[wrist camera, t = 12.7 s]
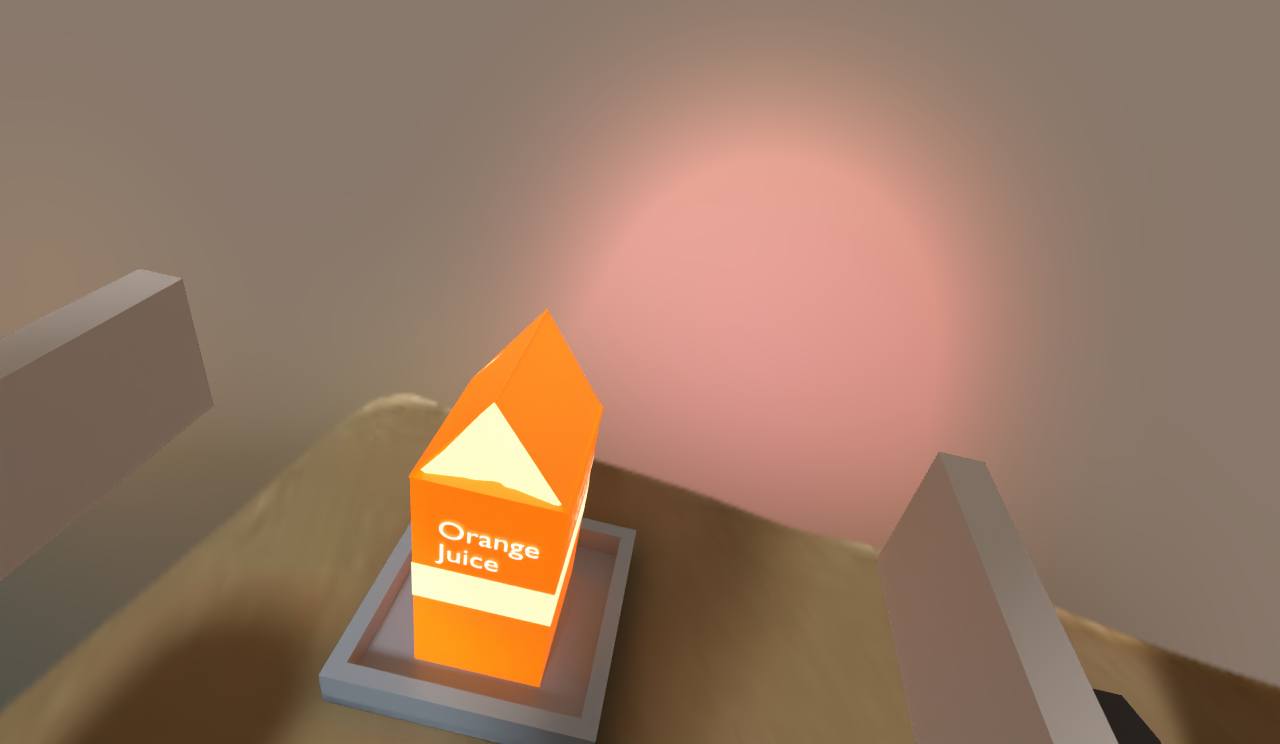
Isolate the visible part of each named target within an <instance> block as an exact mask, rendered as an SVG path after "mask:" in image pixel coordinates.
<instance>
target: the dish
mask: <svg viewBox="0 0 1280 744" xmlns="http://www.w3.org/2000/svg"><path fill="white" fill-rule="evenodd" d="M635 535H636V530H633V529H629V528H625V527H620V526H616V525H612V524H608V523H603V522H599V521H595V520H591V519H586V518H582V520H581V525H580V531H579V536H578V541H577V547H576V552H575V558H574V563H573V568H572V572H571V576H570V579H569V583H568V587H567V590H566V594H565V597H564V601H563V604H562V608H561V612H560V615H559V619H558V622H557V626H556V629H555V633H554V637H553V640H552V644H551V647H550V651H549V655H548V658H547V662H546V665H545V669H544V672H543V676H542V680H541V683H540V687H536V686H531V685H527V684H523V683H519V682H514V681H510V680H506V679H502V678H497V677H493V676H489V675H484V674H480V673H476V672H472V671H467V670H463V669H459V668H455V667H450V666H446V665H442V664H438V663H433V662H429V661H425V660H421V659H416V658H415V649H414V610H413V594H412V572H411V562H412V531H411V522H410V524H409V526H408V527H407V529H406V531H405V532H404V534H403V536H402V537H401V539H400V541H399V542H398V544H397V546H396V547H395V549H394V551H393V552H392V554H391V556H390V557H389V559H388V561H387V562H386V564H385V566H384V567H383V569H382V571H381V572H380V574H379V576H378V577H377V579H376V581H375V582H374V584H373V586H372V587H371V589H370V590H369V592H368V594H367V595H366V597H365V599H364V600H363V602H362V604H361V605H360V607H359V609H358V610H357V612H356V614H355V615H354V617H353V619H352V620H351V622H350V624H349V625H348V627H347V629H346V630H345V632H344V634H343V635H342V637H341V639H340V640H339V642H338V644H337V645H336V647H335V649H334V650H333V652H332V654H331V655H330V657H329V659H328V660H327V662H326V664H325V665H324V667H323V668H322V670H321V672H320V673H319V681H320V687H321V693H322V698H323V701H327V702H331V703H335V704H339V705H343V706H347V707H352V708H356V709H360V710H364V711H368V712H372V713H376V714H380V715H385V716H389V717H393V718H397V719H401V720H405V721H409V722H413V723H418V724H422V725H426V726H430V727H434V728H438V729H442V730H446V731H451V732H455V733H459V734H463V735H467V736H471V737H475V738H479V739H484V740H488V741H492V742H496V743H500V744H595V742H596V737H597V732H598V727H599V722H600V716H601V711H602V706H603V701H604V696H605V690H606V685H607V680H608V675H609V670H610V665H611V659H612V654H613V649H614V644H615V639H616V633H617V628H618V623H619V618H620V613H621V607H622V602H623V597H624V592H625V587H626V581H627V576H628V571H629V566H630V561H631V556H632V550H633V545H634V540H635Z"/></svg>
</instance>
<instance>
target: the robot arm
mask: <svg viewBox="0 0 1280 744" xmlns="http://www.w3.org/2000/svg"><path fill="white" fill-rule="evenodd" d="M211 407H213V401H212V397H211V393H210V389H209V385H208V381H207V377H206V373H205V369H204V364H203V360H202V356H201V352H200V348H199V344H198V340H197V336H196V332H195V328H194V324H193V320H192V316H191V312H190V308H189V304H188V300H187V295H186V292H185V287H184V283H183V279H182V278H177V277H173V276H169V275H164V274H160V273H155V272H151V271H147V270H142V269H138V270H136V271H134V272H132V273H130V274H128V275H126V276H125V277H122V278H120V279H118V280H116V281H114V282H112V283H110V284H108V285H106V286H104V287H102V288H100V289H98V290H96V291H94V292H92V293H90V294H88V295H86V296H84V297H82V298H80V299H78V300H76V301H74V302H72V303H70V304H68V305H66V306H64V307H62V308H60V309H58V310H56V311H54V312H52V313H50V314H48V315H46V316H44V317H42V318H40V319H38V320H36V321H34V322H32V323H30V324H28V325H26V326H24V327H22V328H20V329H18V330H16V331H14V332H12V333H10V334H8V335H6V336H4V337H2V338H0V581H1V580H2V579H4V578H5V577H6V576H7V575H8V574H10V573H11V572H12V571H13V570H15V569H16V568H17V567H18V566H19V565H21V564H22V563H23V562H24V561H25V560H27V559H28V558H29V557H30V556H32V555H33V554H34V553H35V552H36V551H38V550H39V549H40V548H41V547H43V546H44V545H45V544H46V543H47V542H48V541H50V540H51V539H52V538H53V537H55V536H56V535H57V534H58V533H59V532H61V531H62V530H63V529H64V528H66V527H67V526H68V525H69V524H70V523H72V522H73V521H74V520H75V519H77V518H78V517H79V516H80V515H81V514H83V513H84V512H85V511H86V510H87V509H89V508H90V507H91V506H92V505H94V504H95V503H96V502H97V501H98V500H100V499H101V498H102V497H103V496H104V495H106V494H107V493H108V492H109V491H110V490H112V489H113V488H114V487H115V486H117V485H118V484H119V483H120V482H122V481H123V480H124V479H125V478H126V477H128V476H129V475H130V474H131V473H132V472H134V471H135V470H136V469H137V468H139V467H140V466H141V465H142V464H143V463H145V462H146V461H147V460H148V459H149V458H151V457H152V456H153V455H154V454H156V453H157V452H158V451H159V450H160V449H162V447H164V446H165V445H166V444H168V443H169V442H170V441H171V440H172V439H174V438H175V437H176V436H177V435H179V434H180V433H181V432H182V431H183V430H185V429H186V428H187V427H188V426H190V425H191V424H192V423H193V422H194V421H196V420H197V419H198V418H199V417H200V416H202V415H203V414H204V413H205V412H207V411H208V410H209V409H210V408H211ZM876 561H877V566H878V571H879V575H880V580H881V585H882V589H883V594H884V598H885V603H886V608H887V612H888V617H889V622H890V626H891V631H892V636H893V640H894V645H895V650H896V654H897V659H898V663H899V668H900V673H901V677H902V682H903V687H904V691H905V696H906V701H907V705H908V710H909V714H910V719H911V724H912V728H913V733H914V738H915V742H916V744H1161V742H1160V740H1159V739H1158V738H1157V737H1156V736H1155V734H1154V733H1153V732H1152V731H1151V730H1150V728H1149V727H1148V726H1147V725H1146V724H1145V722H1144V721H1143V720H1142V719H1141V718H1140V717H1139V715H1138V714H1137V713H1136V712H1135V711H1134V709H1133V708H1132V707H1131V706H1130V705H1129V704H1128V702H1127V701H1126V700H1125V699H1124V698H1123V696H1122V695H1118V694H1113V693H1109V692H1105V691H1101V690H1096V689H1092V687H1091V685H1090V683H1089V681H1088V679H1087V677H1086V675H1085V672H1084V670H1083V668H1082V666H1081V664H1080V662H1079V660H1078V658H1077V656H1076V654H1075V651H1074V649H1073V647H1072V645H1071V643H1070V641H1069V639H1068V637H1067V635H1066V633H1065V630H1064V628H1063V626H1062V624H1061V622H1060V620H1059V618H1058V616H1057V614H1056V612H1055V609H1054V607H1053V605H1052V603H1051V601H1050V599H1049V597H1048V595H1047V593H1046V591H1045V588H1044V587H1043V584H1042V582H1041V580H1040V578H1039V576H1038V574H1037V572H1036V570H1035V568H1034V565H1033V563H1032V561H1031V559H1030V557H1029V555H1028V553H1027V551H1026V549H1025V546H1024V544H1023V542H1022V540H1021V538H1020V536H1019V534H1018V532H1017V530H1016V528H1015V526H1014V523H1013V521H1012V519H1011V517H1010V515H1009V513H1008V511H1007V509H1006V507H1005V505H1004V502H1003V500H1002V498H1001V496H1000V494H999V492H998V490H997V488H996V486H995V483H994V481H993V479H992V477H991V475H990V473H989V471H988V469H987V467H986V465H985V463H984V462H981V461H977V460H972V459H968V458H963V457H959V456H955V455H950V454H946V453H941V452H939V453H938V454H937V456H936V458H935V460H934V462H933V463H932V465H931V467H930V468H929V470H928V472H927V473H926V475H925V477H924V479H923V481H922V482H921V484H920V486H919V487H918V489H917V491H916V493H915V494H914V496H913V498H912V499H911V502H910V503H909V505H908V506H907V508H906V510H905V512H904V513H903V515H902V517H901V519H900V520H899V522H898V524H897V526H896V527H895V529H894V531H893V532H892V534H891V536H890V538H889V539H888V541H887V543H886V545H885V546H884V548H883V550H882V551H881V553H880V555H879V557H878V558H877V560H876Z"/></svg>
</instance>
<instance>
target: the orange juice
mask: <svg viewBox="0 0 1280 744" xmlns="http://www.w3.org/2000/svg"><path fill="white" fill-rule="evenodd" d="M602 407H603V405H602V404H600V402H599V401H598V399H597V397H596V395H595V394H594V392H593V390H592V388H591V386H590V385H589V383H588V381H587V379H586V377H585V376H584V374H583V372H582V370H581V369H580V367H579V365H578V364H577V361H576V360H575V358H574V356H573V354H572V353H571V351H570V349H569V347H568V345H567V344H566V342H565V340H564V338H563V337H562V335H561V333H560V331H559V329H558V328H557V326H556V324H555V322H554V320H553V319H552V317H551V315H550V313H549V312H548V309H547V310H546V311H544V312H543V314H541V315H540V316H539V317H538V318H537V319H536V320H535V321H534V322H533V323H531V324H530V325H529V326H528V327H527V328H526V329H525V330H524V331H523V332H522V333H521V334H520V335H519V336H518V337H516V338H515V339H514V340H513V341H512V342H511V343H510V344H509V345H508V346H507V347H506V348H504V350H503V351H501V352H500V353H499V354H498V355H497V356H496V357H495V358H494V359H493V360H492V361H490V362H489V363H488V364H487V365H486V366H485V367H484V368H483V369H482V370H481V371H480V372H479V373H478V374H476V376H475V377H473V379H472V380H471V382H470V383H469V385H468V386H467V388H466V389H465V391H464V392H463V394H462V395H461V397H460V398H459V400H458V401H457V403H456V405H455V406H454V408H453V409H452V411H451V412H450V414H449V415H448V417H447V418H446V420H445V421H444V423H443V424H442V426H441V428H440V429H439V431H438V432H437V434H436V435H435V437H434V438H433V440H432V441H431V443H430V444H429V446H428V447H427V449H426V451H425V452H424V454H423V455H422V457H421V458H420V460H419V461H418V463H417V464H416V466H415V467H414V469H413V470H412V472H411V474H410V475H411V476H410V475H409V476H410V491H411V531H412V562H411V572H412V594H413V610H414V649H415V658H416V659H421V660H425V661H429V662H433V663H438V664H442V665H446V666H450V667H455V668H459V669H463V670H467V671H472V672H476V673H480V674H484V675H489V676H493V677H497V678H502V679H506V680H510V681H514V682H519V683H523V684H527V685H531V686H536V687H540V683H541V680H542V676H543V672H544V669H545V665H546V662H547V658H548V655H549V651H550V647H551V644H552V640H553V637H554V633H555V629H556V626H557V622H558V619H559V615H560V612H561V608H562V604H563V601H564V597H565V594H566V590H567V587H568V583H569V579H570V576H571V572H572V568H573V563H574V558H575V552H576V547H577V541H578V536H579V531H580V525H581V520H582V515H583V511H584V507H585V502H586V497H587V491H588V486H589V481H590V480H589V477H590V472H591V468H592V463H593V458H594V457H593V456H594V450H595V445H596V440H597V434H598V429H599V423H600V419H601V416H602V413H603V408H602Z"/></svg>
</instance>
